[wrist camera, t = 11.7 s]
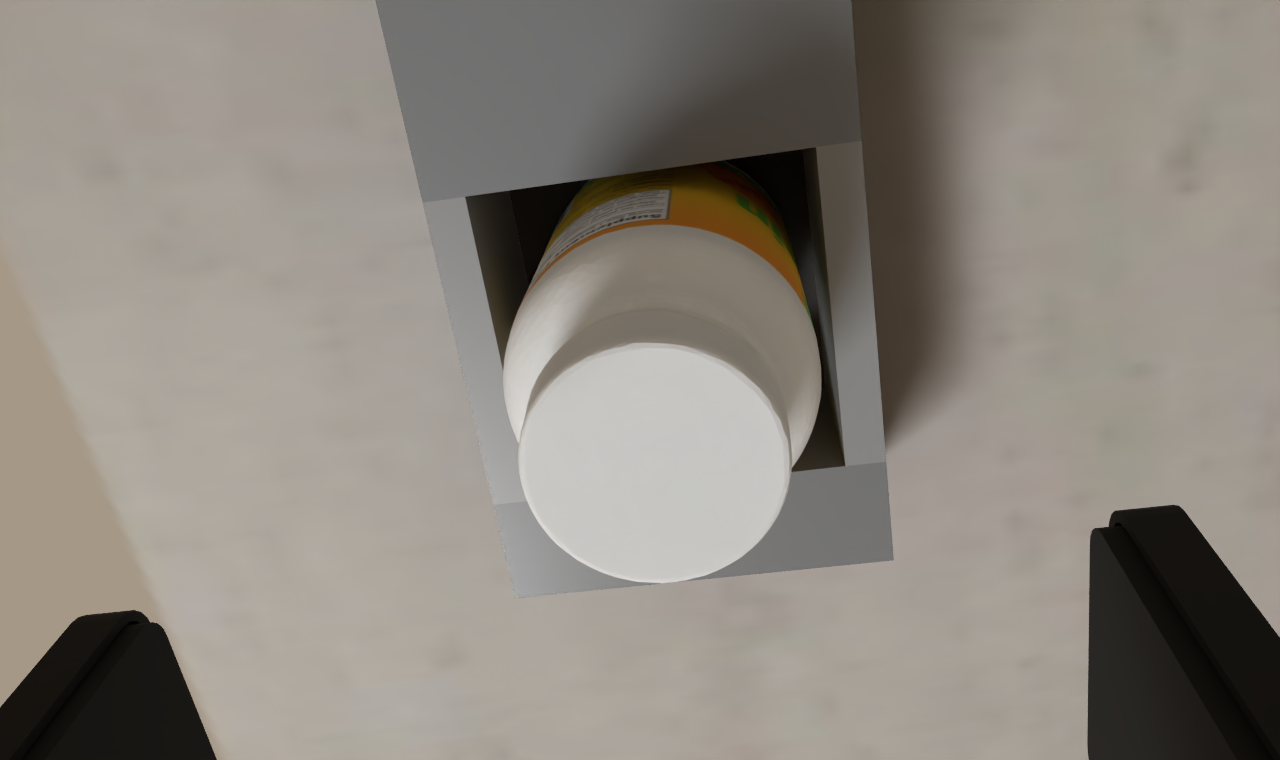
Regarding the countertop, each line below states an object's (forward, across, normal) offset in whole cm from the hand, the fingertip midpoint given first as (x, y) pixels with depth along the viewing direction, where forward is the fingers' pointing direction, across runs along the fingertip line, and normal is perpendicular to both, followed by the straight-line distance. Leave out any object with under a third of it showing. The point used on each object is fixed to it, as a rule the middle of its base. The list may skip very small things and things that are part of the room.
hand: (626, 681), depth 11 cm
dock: (+15, 0, -1) cm, 15 cm away
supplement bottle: (+15, 0, +1) cm, 15 cm away
